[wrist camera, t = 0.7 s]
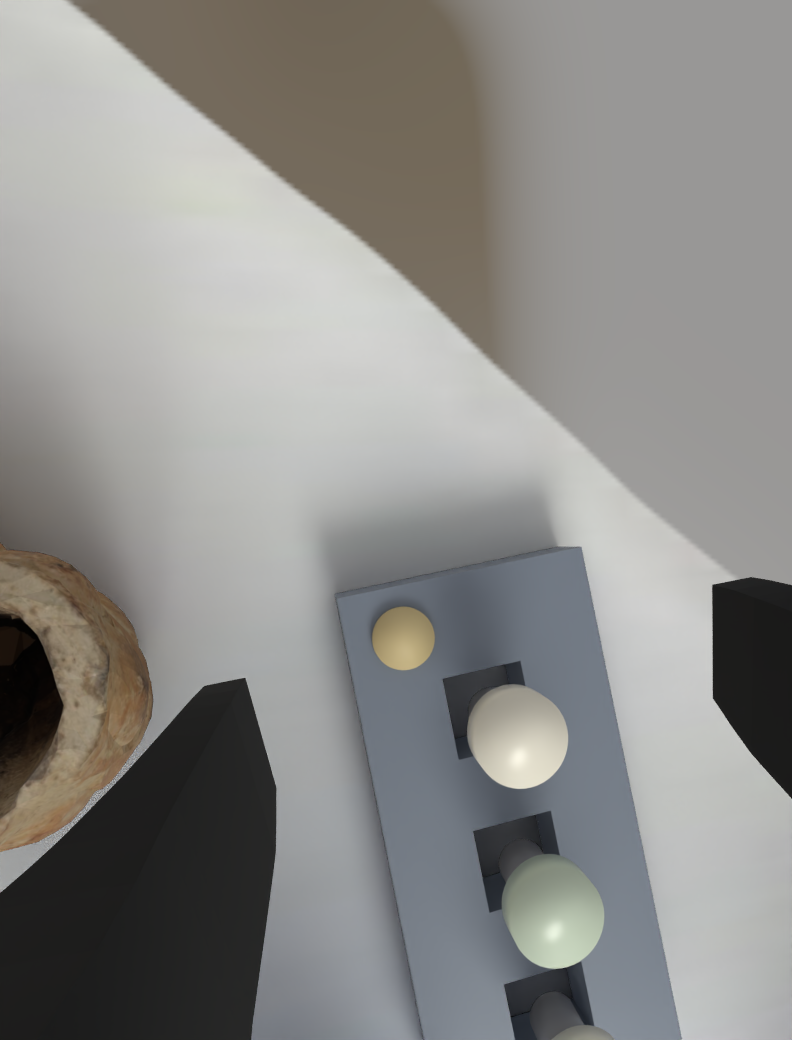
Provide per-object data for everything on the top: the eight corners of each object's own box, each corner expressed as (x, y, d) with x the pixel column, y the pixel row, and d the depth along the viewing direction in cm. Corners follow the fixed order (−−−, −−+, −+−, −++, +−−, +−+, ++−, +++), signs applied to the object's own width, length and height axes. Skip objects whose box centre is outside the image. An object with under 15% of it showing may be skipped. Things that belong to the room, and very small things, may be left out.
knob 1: (537, 741, 26) (576, 775, 22) (459, 761, 25) (485, 799, 22) (521, 660, 26) (557, 681, 22) (442, 679, 25) (466, 703, 22)
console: (650, 996, 29) (686, 1045, 26) (428, 1065, 27) (441, 1124, 25) (558, 546, 29) (584, 546, 26) (334, 593, 28) (337, 599, 25)
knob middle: (568, 892, 26) (612, 953, 22) (490, 914, 25) (521, 980, 21) (551, 811, 26) (593, 858, 22) (473, 832, 25) (502, 883, 22)
